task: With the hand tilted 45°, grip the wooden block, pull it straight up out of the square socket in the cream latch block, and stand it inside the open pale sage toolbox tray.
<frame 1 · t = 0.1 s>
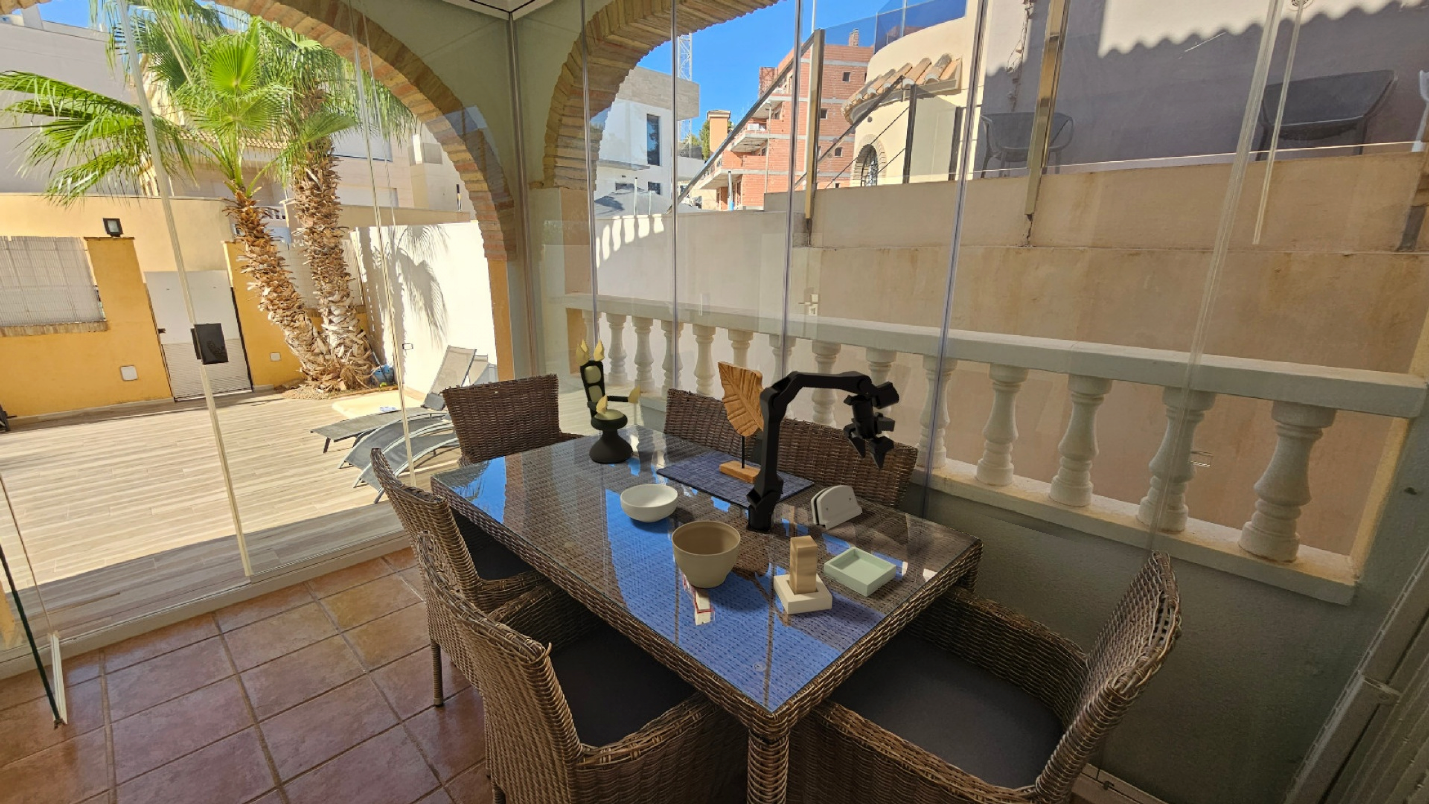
hand: (872, 463, 159), 15 cm above the table, tool pointing down, fingers open, 9 cm apart
cereal bowl: (650, 516, 161), on the table
planter bowl: (706, 578, 130), on the table
latch block: (801, 597, 122), on the table
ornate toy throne: (606, 456, 210), on the table
wooden block: (802, 570, 120), in the latch block
white napkin holder: (834, 517, 160), on the table
toolbox tray: (859, 575, 130), on the table
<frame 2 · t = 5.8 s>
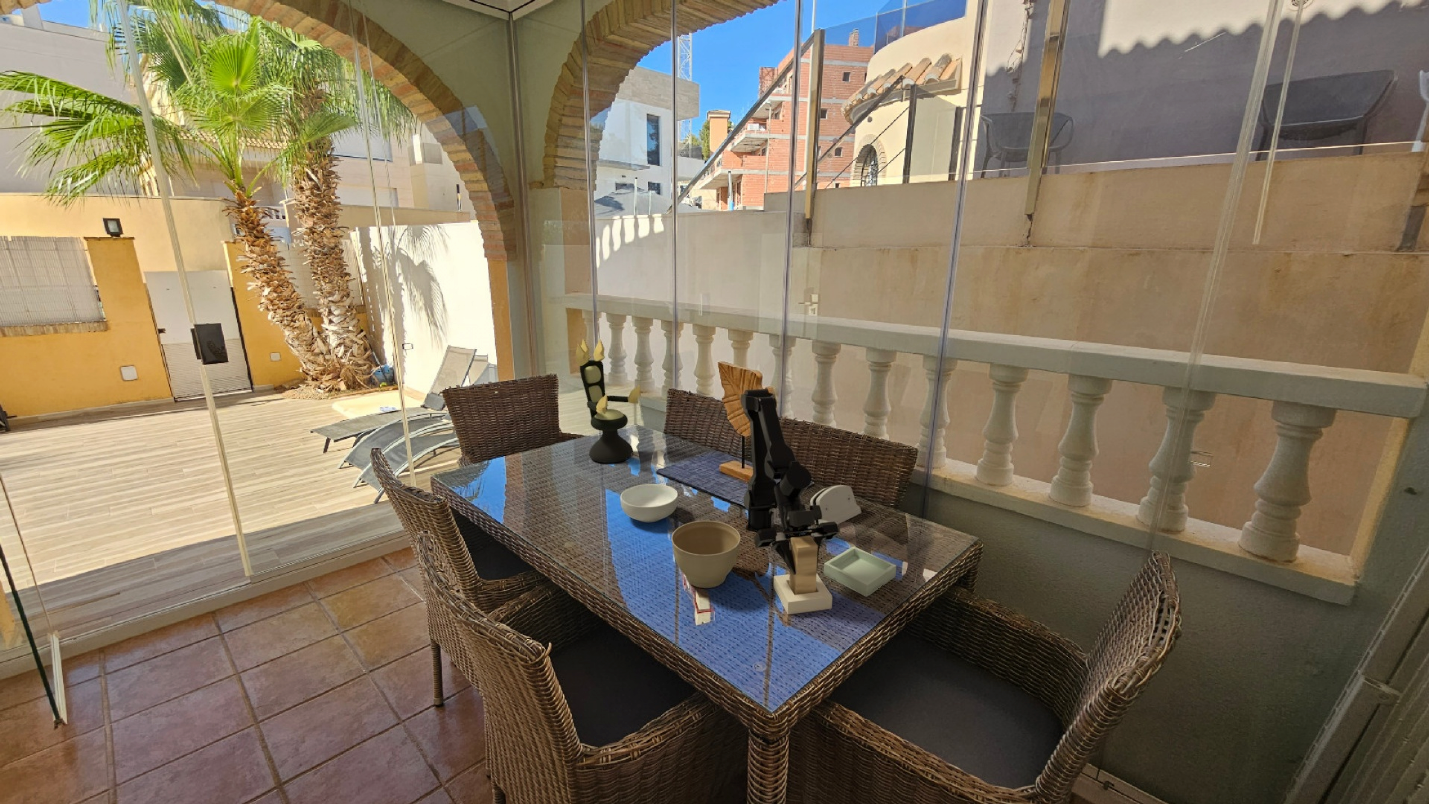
hand: (805, 573, 119), 7 cm above the table, tool tilted 45°, fingers closed on wooden block, 4 cm apart
wooden block: (802, 570, 120), in the latch block, touching gripper
everything else where it was.
when the fingers open (9 cm above the table, at t = 9.9 s): wooden block stays where it is, resting on toolbox tray.
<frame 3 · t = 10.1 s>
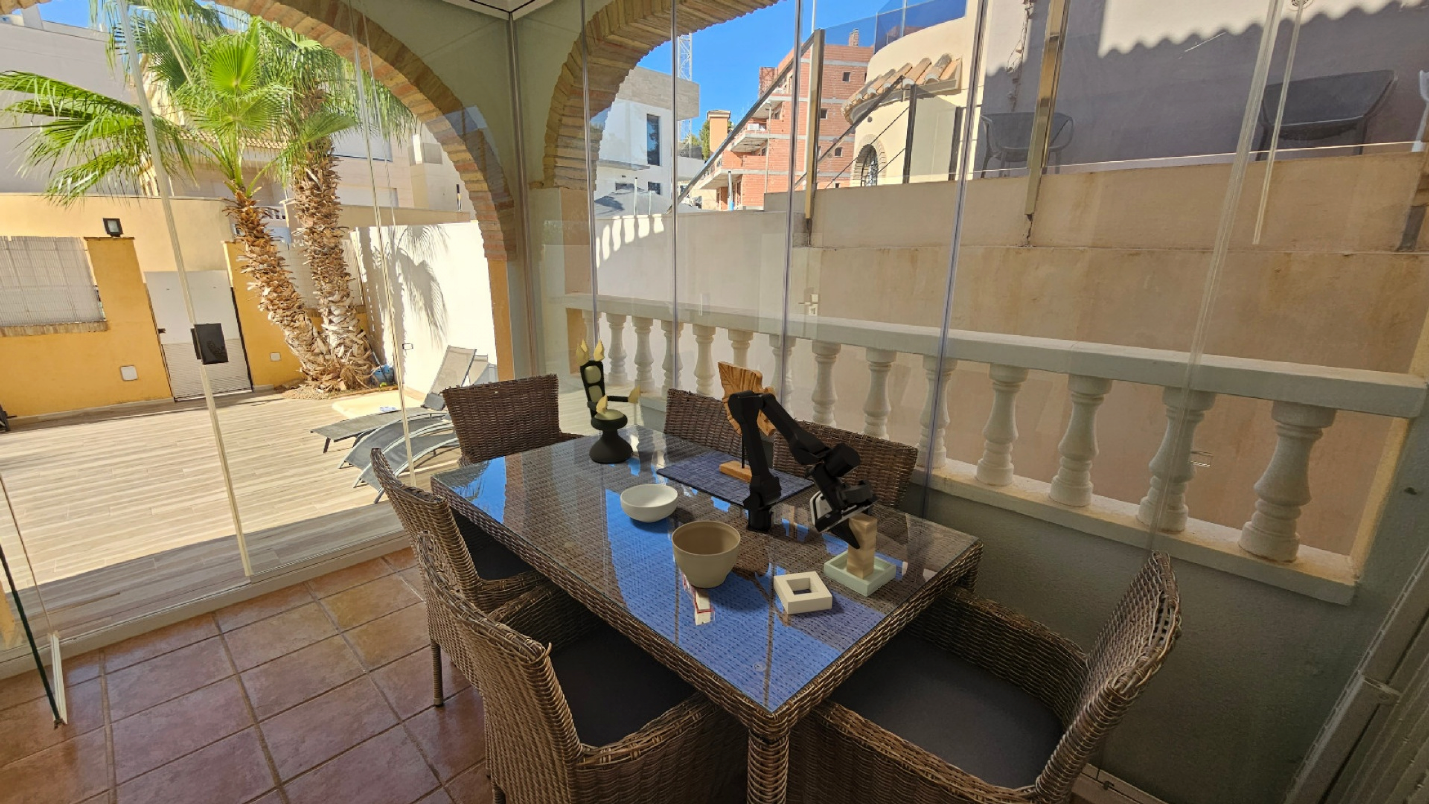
hand: (866, 543, 127), 9 cm above the table, tool tilted 45°, fingers open, 6 cm apart
wooden block: (861, 545, 128), in the toolbox tray, point 8 cm above the table
everything else where it was.
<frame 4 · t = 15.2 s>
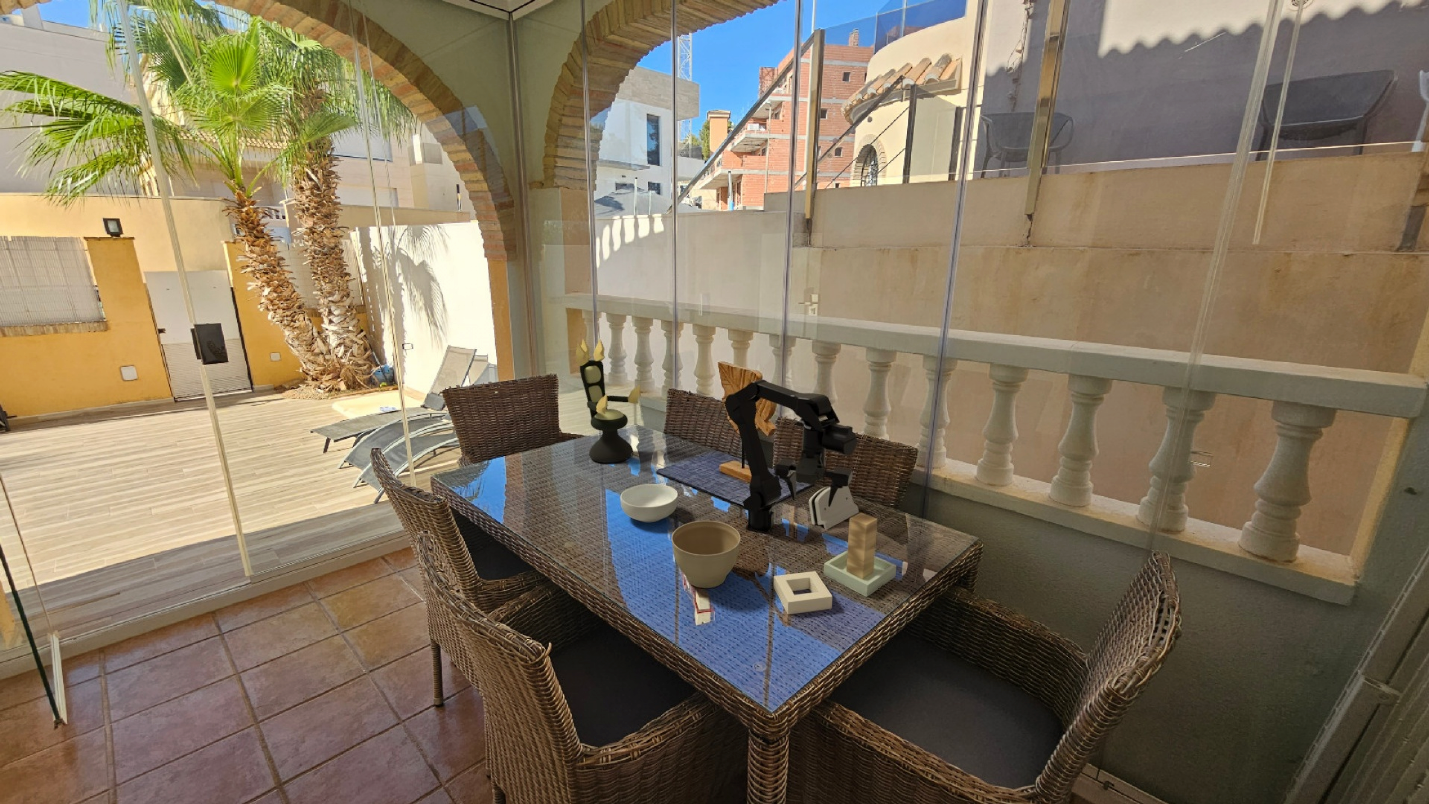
hand: (811, 503, 139), 13 cm above the table, tool pointing down, fingers open, 9 cm apart
nothing on the table moved.
at the end: wooden block 0.0 cm off-centre on the toolbox tray, point 8.0 cm above the toolbox tray's base; wooden block tilted 0°; the gripper is holding nothing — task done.
